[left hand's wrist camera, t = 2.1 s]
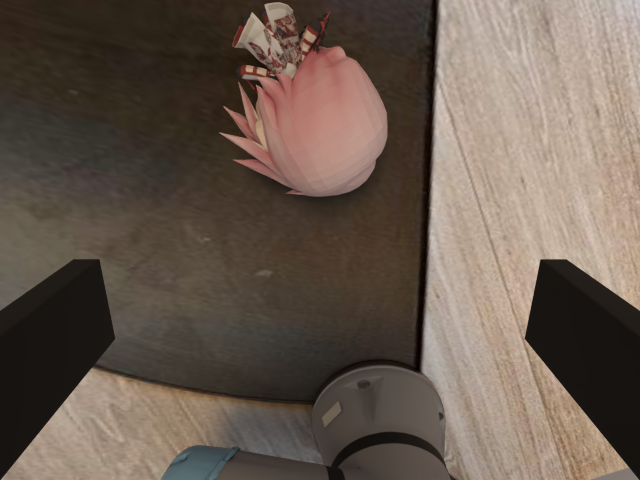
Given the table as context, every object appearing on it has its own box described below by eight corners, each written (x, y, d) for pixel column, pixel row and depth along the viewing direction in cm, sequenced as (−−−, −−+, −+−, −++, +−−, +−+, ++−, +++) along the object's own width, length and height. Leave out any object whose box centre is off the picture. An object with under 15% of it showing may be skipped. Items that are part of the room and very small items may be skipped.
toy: (178, 84, 35) (278, 228, 39) (162, 41, 25) (300, 244, 28) (294, 12, 37) (379, 158, 40) (324, -56, 26) (435, 148, 30)
